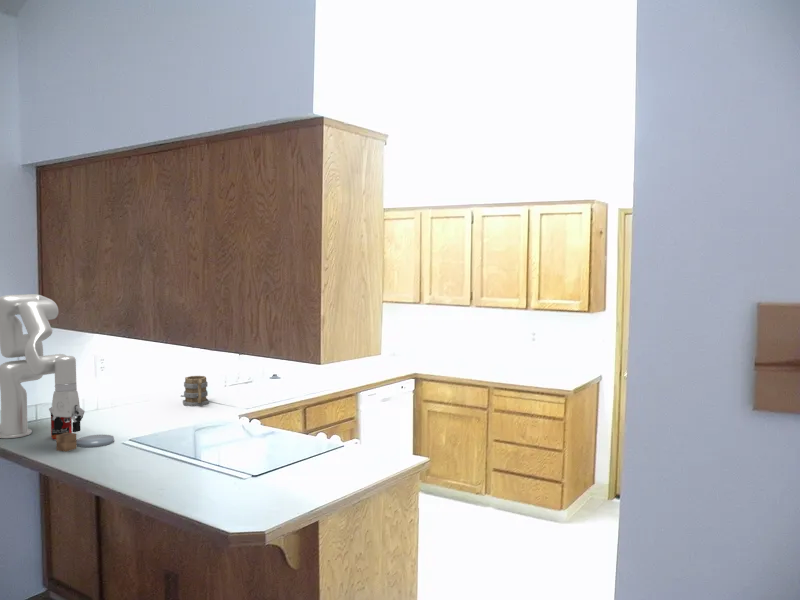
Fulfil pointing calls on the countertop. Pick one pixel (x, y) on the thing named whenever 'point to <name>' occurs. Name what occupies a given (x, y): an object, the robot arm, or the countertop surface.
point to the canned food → (65, 427)
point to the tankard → (195, 391)
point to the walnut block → (66, 442)
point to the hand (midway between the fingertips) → (67, 430)
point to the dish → (94, 441)
